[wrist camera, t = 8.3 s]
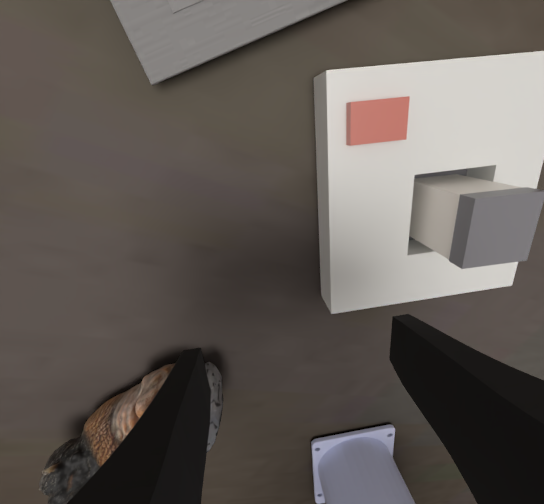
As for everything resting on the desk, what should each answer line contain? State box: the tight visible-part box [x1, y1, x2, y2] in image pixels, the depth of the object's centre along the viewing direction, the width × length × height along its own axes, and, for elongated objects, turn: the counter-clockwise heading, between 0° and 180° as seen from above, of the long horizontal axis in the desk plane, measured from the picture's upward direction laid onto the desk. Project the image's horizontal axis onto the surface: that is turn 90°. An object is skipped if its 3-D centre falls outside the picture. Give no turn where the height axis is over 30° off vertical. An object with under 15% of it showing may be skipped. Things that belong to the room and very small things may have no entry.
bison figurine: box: [39, 362, 223, 504], centre depth 20 cm, size 12×7×10 cm
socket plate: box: [313, 51, 544, 314], centre depth 19 cm, size 14×13×3 cm
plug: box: [409, 174, 544, 269], centre depth 17 cm, size 4×4×6 cm
